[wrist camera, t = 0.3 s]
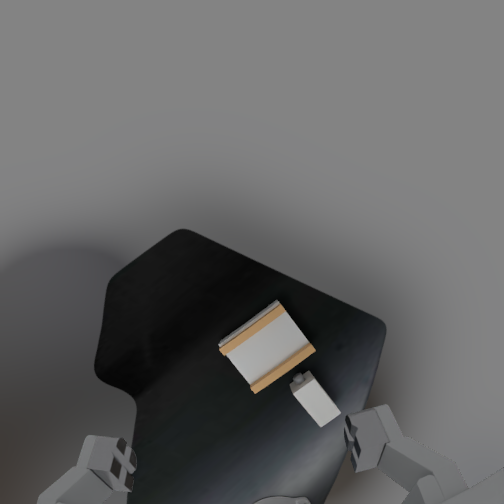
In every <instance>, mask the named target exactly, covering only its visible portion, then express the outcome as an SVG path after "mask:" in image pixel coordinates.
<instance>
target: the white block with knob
mask: <svg viewBox="0 0 504 504" xmlns="http://www.w3.org/2000/svg"><path fill="white" fill-rule="evenodd" d="M293 380H294V381H293V382H292V383H290V384H289V385H290V388H291V390H292V393H293V395H294V396H295V397H296V398H297V400H298V401H299V402H300V403H301V404H302V406H303V407H304V408H305V409H306V410H307V412H308V413H309V414H310V415H311V416H312V418H313V419H314V420H315V421H316V422H317V424H318V425H319V426H320V427H322V426H324V425H325V424H327V423H328V422H329V421H331V420H332V419H334V418H335V417H337V416H338V415H339V414H341V412H340V411H339V409H338V408H337V406H336V405H335V403H334V402H333V401H332V399H331V398H330V397H329V396H328V394H327V393H326V392H325V390H324V389H323V388H322V387H321V385H320V384H319V383H318V381H317V380H316V379H315V378H314V376H313V375H312V374H311V372H310V371H307V372H306V373H304V374H303V375H302V374H301V373H298V374H296V375H295V376H294V377H293Z"/></svg>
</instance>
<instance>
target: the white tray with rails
mask: <svg viewBox="0 0 504 504" xmlns="http://www.w3.org/2000/svg"><path fill="white" fill-rule="evenodd" d="M219 346H220V349H219V350H220V351H221V352H222V354H223V355H224V356H225V355H227V357H228V358H229V359H230V360H231V362H232V363H233V364H234V365H235V367H236V368H237V369H238V370H239V372H240V373H241V374H242V375H243V376H244V378H245V379H246V380H247V381H248V383H249V384H250V388H251V390H252V391H253V392H254V393H255V394H256V393H257V392H259V391H260V390H262V389H263V388H265V387H266V386H268V385H269V384H270V383H272V382H273V381H275V380H276V379H278V378H279V377H280V376H282V375H283V374H285V373H286V372H288V371H289V370H290V369H292V368H293V367H294V366H296V365H297V364H299V363H300V362H301V361H303V360H304V359H305V358H307V357H308V356H309V355H311V354H312V353H313V352H315V351H316V350H315V349H314V347H313V346H312V345H311V344H310V343H309V341H308V340H307V339H306V337H305V336H304V335H303V333H302V332H301V331H300V329H299V328H298V327H297V325H296V324H295V323H294V321H293V320H292V319H291V317H290V316H289V315H288V313H287V312H286V310H285V309H284V308H283V306H282V305H281V304H280V303H279V301H277V300H276V301H275V302H273V303H272V304H271V305H269V306H268V307H267V308H265V309H264V310H262V311H261V312H260V313H258V314H257V315H256V316H254V317H253V318H252V319H250V320H249V321H248V322H246V323H245V324H243V325H242V326H241V327H239V328H238V329H236V330H235V331H234V332H232V333H231V334H229V335H228V336H227V337H225V338H224V339H222V340H221V341H220V343H219Z"/></svg>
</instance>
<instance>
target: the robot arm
mask: <svg viewBox="0 0 504 504" xmlns="http://www.w3.org/2000/svg"><path fill="white" fill-rule="evenodd" d="M345 421H346V424H347V425H346V426H345V427H344V437H345V442H346V446H347V449H348V450H349V451H351V452H352V454H351V462H352V465H353V468H354V471H355V473H357V472H361V471H364V470H368V469H372V468H375V467H377V468H378V469H379V470H381V471H382V472H383V473H384V474H386V475H387V476H388V477H390V478H391V479H392V480H394V481H395V482H396V483H398V484H399V485H401V486H402V487H403V488H405V489H406V490H407V491H409V492H410V493H409V494H408V496H407V497H406V498H405V500H404V501H403V503H402V504H504V467H503V468H502V469H500V470H499V471H497V472H496V473H494V474H492V475H491V476H490V477H488V478H486V479H484V480H483V481H481V482H479V483H478V484H476V485H474V486H472V487H471V488H468V486H467V484H466V483H465V480H464V479H463V477H462V474H461V472H460V471H459V469H458V467H457V465H456V463H455V462H454V461H452V460H450V459H448V458H446V457H445V456H443V455H441V454H439V453H437V452H435V451H433V450H431V449H430V448H428V447H426V446H424V445H423V444H421V443H419V442H417V441H415V440H413V439H412V438H410V437H408V436H407V437H404V436H403V434H402V432H401V430H400V428H399V426H398V424H397V422H396V420H395V418H394V416H393V414H392V411H391V409H390V408H389V406H388V405H387V404H384V405H380V406H377V407H374V408H369V409H366V410H362V411H359V412H355V413H352V414H348V415H347V416H346V419H345ZM126 444H127V442H126V441H125V440H124V438H116V437H102V436H93V435H88V436H87V437H86V438H85V441H84V444H83V447H82V450H81V454H80V456H79V459H78V462H77V466H76V467H72V468H71V469H70V470H69V471H68V472H66V473H65V474H64V475H63V476H62V477H61V478H59V479H58V480H57V481H56V482H55V483H54V484H52V485H51V486H50V487H49V488H48V489H47V490H45V491H44V492H43V493H42V494H41V495H39V498H38V502H37V504H103V503H104V502H105V501H106V500H107V498H108V497H109V496H110V495H111V494H112V492H113V490H115V491H126V492H132V488H133V482H134V478H133V476H132V473H133V472H134V471H135V470H136V465H137V461H136V455H135V453H134V451H133V450H132V449H131V448H130V447H128V446H126ZM304 503H306V504H311V503H310V501H309V500H308V498H306V497H298V498H290V497H283V496H276V497H269V498H265V499H262V500H259V501H257V502H256V503H254V504H304Z"/></svg>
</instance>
